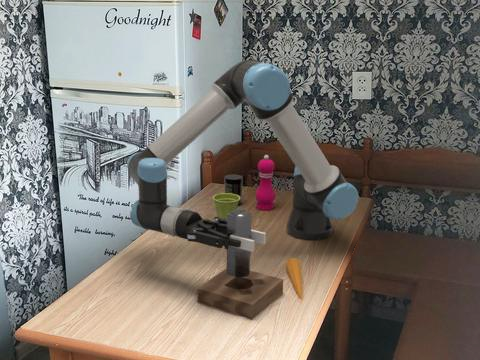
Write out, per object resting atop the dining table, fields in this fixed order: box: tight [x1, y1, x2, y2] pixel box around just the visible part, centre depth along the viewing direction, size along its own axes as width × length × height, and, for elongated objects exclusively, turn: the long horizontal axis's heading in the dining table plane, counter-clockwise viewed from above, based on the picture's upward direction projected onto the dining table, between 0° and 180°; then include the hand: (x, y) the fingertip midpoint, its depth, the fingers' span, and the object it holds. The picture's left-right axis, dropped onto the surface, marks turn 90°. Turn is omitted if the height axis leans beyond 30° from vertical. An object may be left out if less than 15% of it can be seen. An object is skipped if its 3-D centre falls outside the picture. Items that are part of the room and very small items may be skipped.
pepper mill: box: [255, 154, 276, 211], centre depth 217 cm, size 7×7×20 cm
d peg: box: [226, 208, 252, 277], centre depth 149 cm, size 5×5×16 cm
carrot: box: [285, 257, 303, 301], centre depth 160 cm, size 20×4×4 cm, turn 2°
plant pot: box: [212, 192, 240, 220], centre depth 205 cm, size 9×9×9 cm
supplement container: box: [223, 173, 244, 206], centre depth 222 cm, size 7×7×10 cm
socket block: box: [196, 267, 284, 321], centre depth 153 cm, size 16×16×4 cm
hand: (259, 242), depth 146 cm, fingers closed on d peg, 5 cm apart
